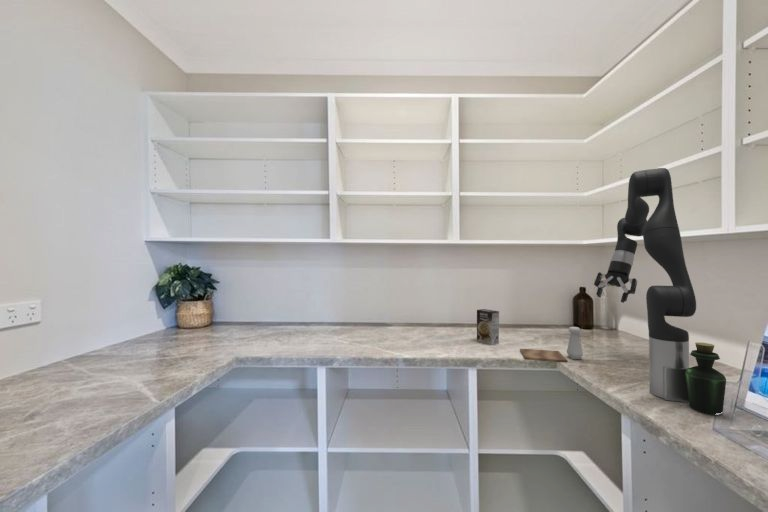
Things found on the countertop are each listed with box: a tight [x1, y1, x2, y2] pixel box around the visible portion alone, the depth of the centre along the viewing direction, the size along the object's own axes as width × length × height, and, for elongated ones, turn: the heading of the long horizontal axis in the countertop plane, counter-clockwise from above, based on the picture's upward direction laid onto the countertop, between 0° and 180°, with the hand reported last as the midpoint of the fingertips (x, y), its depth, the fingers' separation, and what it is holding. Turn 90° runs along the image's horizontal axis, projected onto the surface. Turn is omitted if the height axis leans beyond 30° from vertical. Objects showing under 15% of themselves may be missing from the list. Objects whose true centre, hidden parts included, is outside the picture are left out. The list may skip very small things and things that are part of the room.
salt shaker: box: [566, 326, 584, 360], centre depth 137 cm, size 6×6×13 cm
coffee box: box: [476, 308, 500, 346], centre depth 163 cm, size 9×6×16 cm
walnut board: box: [519, 348, 569, 363], centre depth 140 cm, size 16×14×1 cm
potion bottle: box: [685, 342, 727, 416], centre depth 90 cm, size 8×8×18 cm
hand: (610, 299), depth 136 cm, fingers open, 8 cm apart
